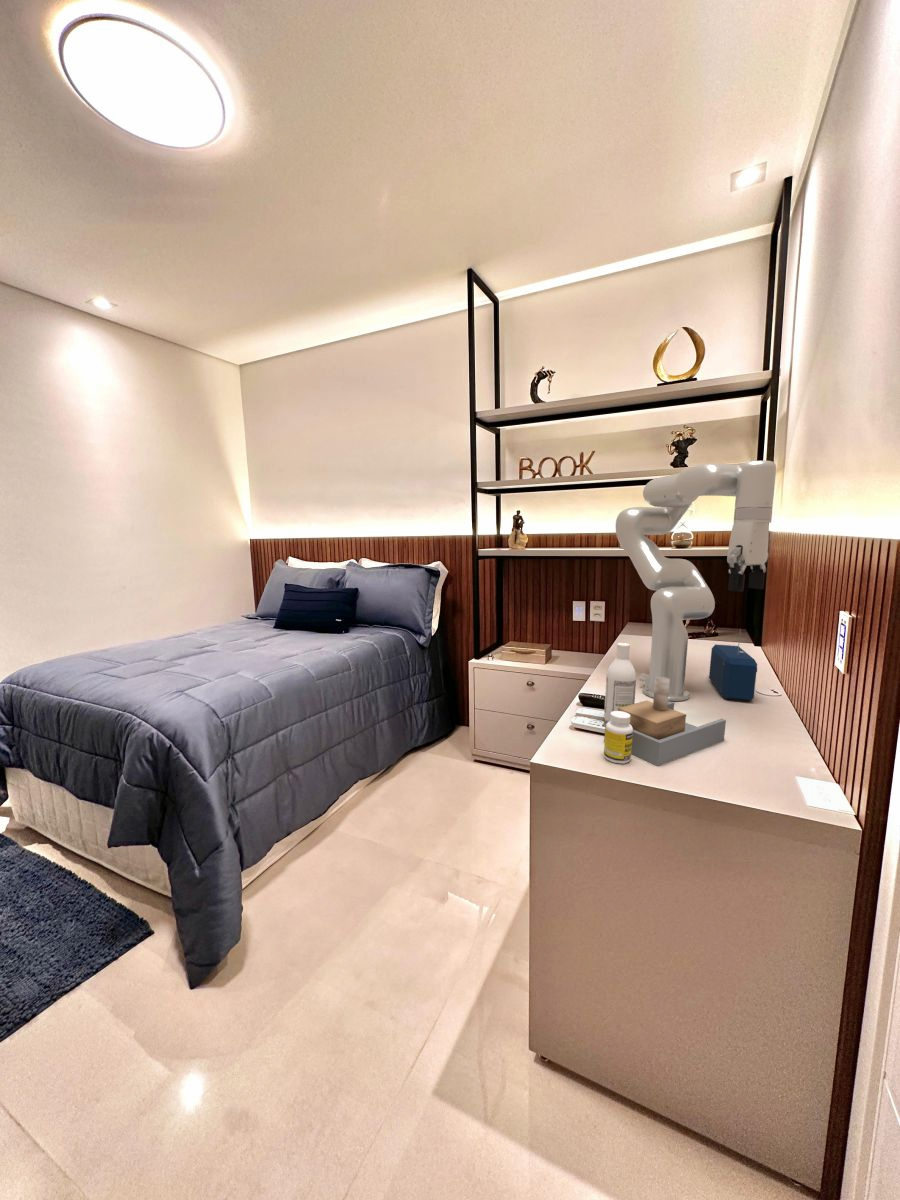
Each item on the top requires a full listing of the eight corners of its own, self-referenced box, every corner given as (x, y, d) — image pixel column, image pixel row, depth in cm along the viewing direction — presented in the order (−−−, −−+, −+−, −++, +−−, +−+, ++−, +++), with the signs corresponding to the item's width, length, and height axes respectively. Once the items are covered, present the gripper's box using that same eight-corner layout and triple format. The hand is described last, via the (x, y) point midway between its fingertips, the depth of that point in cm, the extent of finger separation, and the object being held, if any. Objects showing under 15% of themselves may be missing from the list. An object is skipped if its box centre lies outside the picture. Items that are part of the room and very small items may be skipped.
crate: (615, 737, 114) (619, 677, 112) (644, 728, 119) (648, 671, 117) (654, 755, 105) (659, 690, 103) (683, 744, 110) (689, 683, 108)
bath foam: (639, 724, 124) (644, 645, 121) (618, 729, 121) (623, 648, 118) (618, 715, 131) (623, 639, 128) (597, 719, 128) (602, 642, 125)
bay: (604, 740, 115) (605, 720, 114) (669, 720, 127) (670, 701, 127) (658, 766, 103) (659, 743, 102) (723, 740, 116) (725, 720, 115)
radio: (757, 704, 140) (765, 634, 137) (723, 701, 142) (729, 631, 139) (737, 682, 160) (743, 620, 157) (707, 679, 162) (712, 618, 159)
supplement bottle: (627, 766, 102) (630, 721, 101) (600, 760, 105) (603, 715, 104) (633, 756, 107) (636, 712, 106) (607, 750, 110) (610, 707, 108)
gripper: (753, 517, 124) (746, 586, 127) (717, 515, 114) (710, 590, 117) (786, 516, 118) (779, 589, 121) (752, 515, 108) (744, 593, 111)
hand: (745, 589), depth 119 cm, fingers open, 9 cm apart
